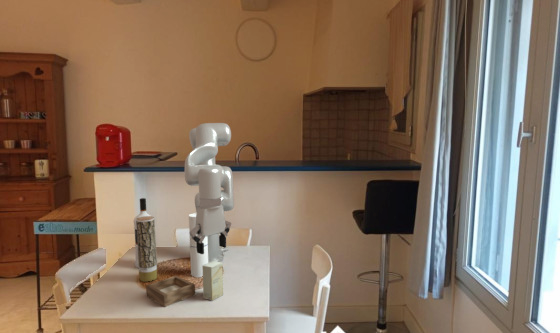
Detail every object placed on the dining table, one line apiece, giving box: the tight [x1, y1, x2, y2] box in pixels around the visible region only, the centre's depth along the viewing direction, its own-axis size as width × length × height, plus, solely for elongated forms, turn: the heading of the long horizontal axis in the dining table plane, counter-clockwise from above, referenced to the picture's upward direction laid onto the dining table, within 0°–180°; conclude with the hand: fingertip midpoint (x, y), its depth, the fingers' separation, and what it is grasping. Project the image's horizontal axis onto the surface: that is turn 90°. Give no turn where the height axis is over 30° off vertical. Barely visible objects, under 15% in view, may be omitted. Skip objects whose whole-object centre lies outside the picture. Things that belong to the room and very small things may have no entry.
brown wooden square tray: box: [145, 275, 196, 308], centre depth 144 cm, size 12×12×4 cm
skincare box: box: [202, 261, 224, 301], centre depth 142 cm, size 6×4×12 cm
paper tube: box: [136, 215, 158, 283], centre depth 158 cm, size 7×7×25 cm
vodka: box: [133, 197, 158, 269], centre depth 173 cm, size 9×9×30 cm
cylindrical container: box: [188, 212, 208, 278], centre depth 162 cm, size 7×7×25 cm
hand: (211, 250), depth 141 cm, fingers open, 9 cm apart
